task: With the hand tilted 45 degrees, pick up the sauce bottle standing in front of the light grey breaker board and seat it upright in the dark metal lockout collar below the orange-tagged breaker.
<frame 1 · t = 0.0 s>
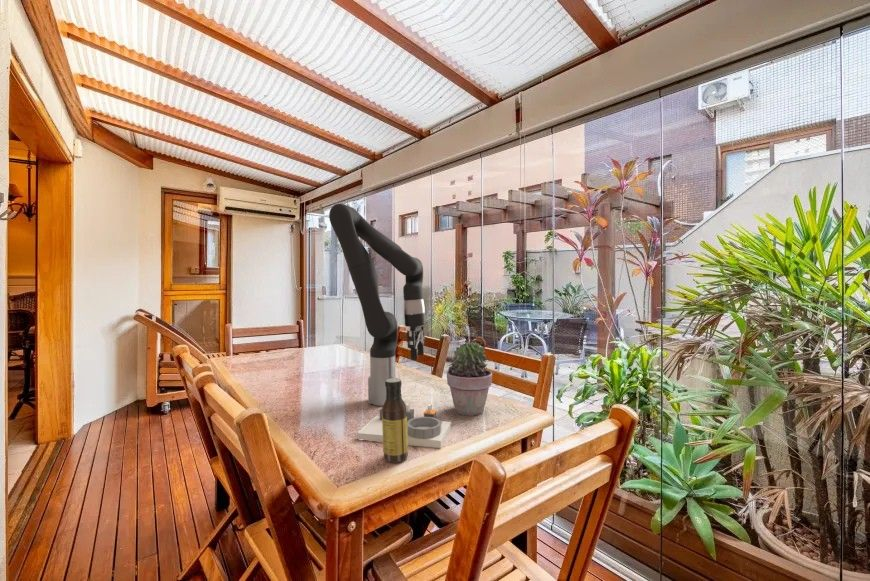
hand: (417, 357, 136), 17 cm above the table, tool pointing down, fingers open, 8 cm apart
breaker board: (405, 434, 110), on the table
potted plant: (468, 412, 129), on the table
sauce bottle: (395, 458, 95), on the table
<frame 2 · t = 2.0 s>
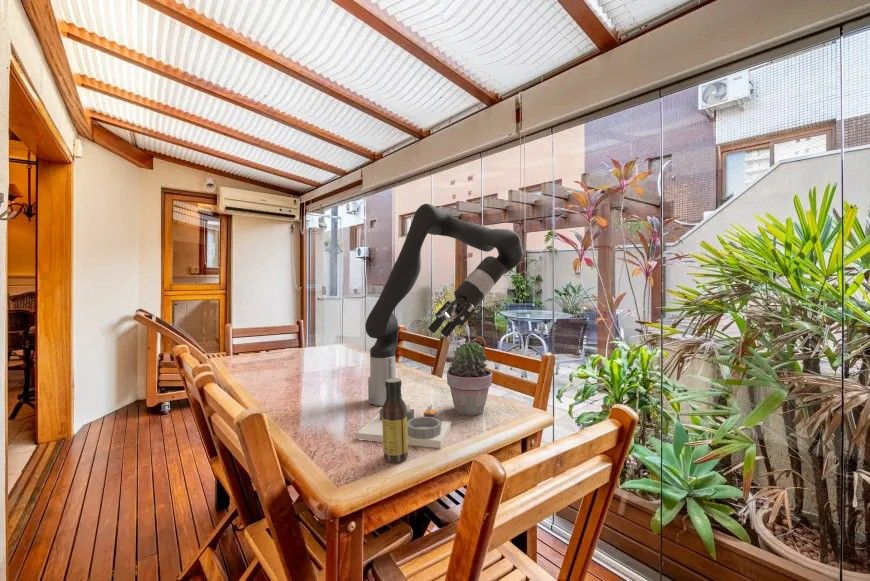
hand: (436, 332, 100), 31 cm above the table, tool tilted 45°, fingers open, 8 cm apart
nothing on the table moved.
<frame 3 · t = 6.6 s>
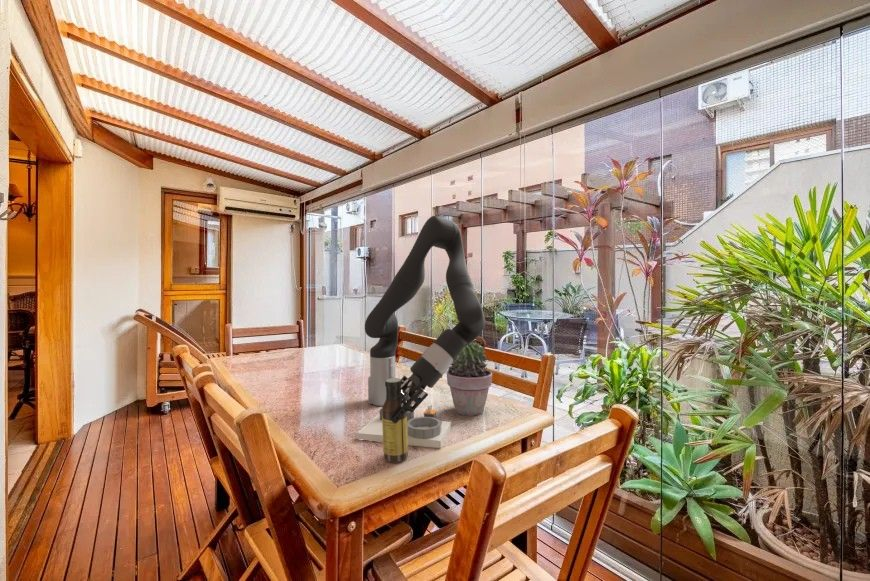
hand: (388, 416, 94), 11 cm above the table, tool tilted 45°, fingers closed on sauce bottle, 6 cm apart
sauce bottle: (395, 458, 95), on the table, touching gripper
everything else where it was.
when the fingers open (14 cm above the table, at t = 13.3 s): sauce bottle drops 1 cm, resting on breaker board.
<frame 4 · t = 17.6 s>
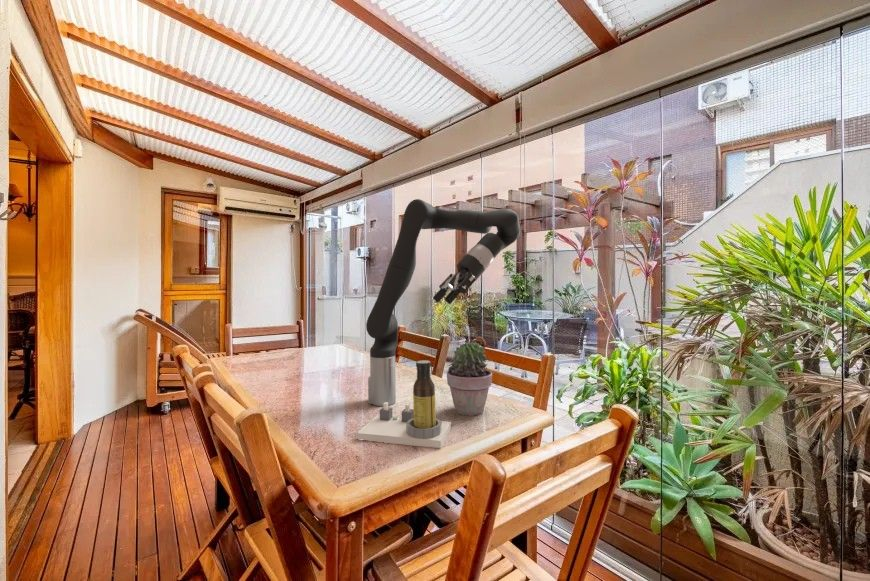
hand: (440, 301, 110), 39 cm above the table, tool tilted 45°, fingers open, 8 cm apart
sauce bottle: (424, 432, 107), point 2 cm above the table, touching breaker board
everything else where it was.
at the end: sauce bottle 0.3 cm from the target spot on the breaker board, point 1.8 cm above the breaker board's base; sauce bottle tilted 0°; the gripper is holding nothing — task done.
